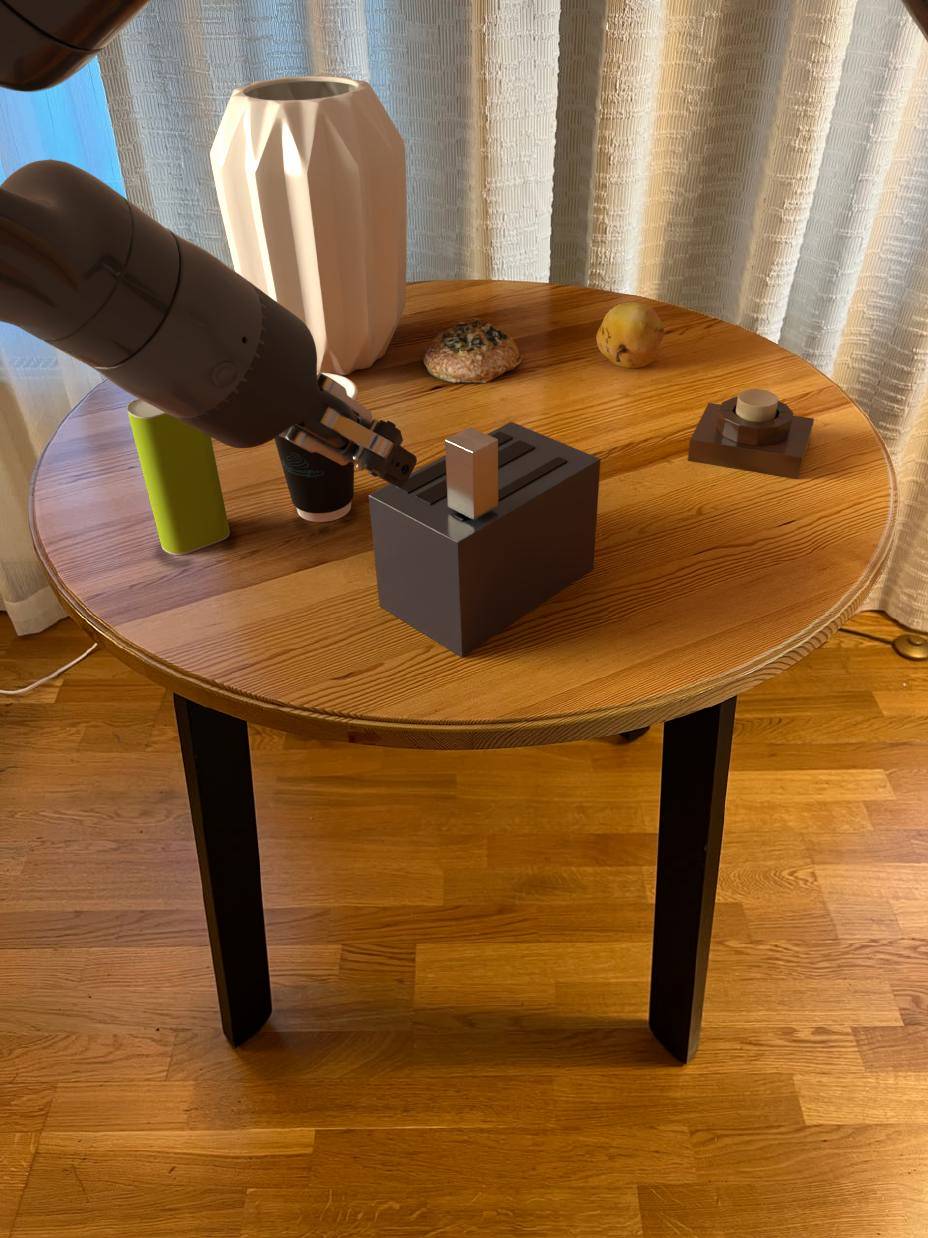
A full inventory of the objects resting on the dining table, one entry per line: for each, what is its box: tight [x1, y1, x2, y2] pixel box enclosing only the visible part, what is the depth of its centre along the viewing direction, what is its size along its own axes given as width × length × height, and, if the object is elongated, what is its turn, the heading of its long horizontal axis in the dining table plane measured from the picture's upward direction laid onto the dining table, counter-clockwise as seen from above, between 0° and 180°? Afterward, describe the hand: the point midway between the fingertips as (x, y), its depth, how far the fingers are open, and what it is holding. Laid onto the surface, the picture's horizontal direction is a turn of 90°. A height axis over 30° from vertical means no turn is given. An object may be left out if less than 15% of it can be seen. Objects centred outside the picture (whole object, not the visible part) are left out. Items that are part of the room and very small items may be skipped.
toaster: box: [368, 421, 601, 659], centre depth 77 cm, size 15×9×10 cm, turn 135°
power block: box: [687, 396, 815, 480], centre depth 95 cm, size 10×8×4 cm
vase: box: [209, 74, 408, 376], centre depth 107 cm, size 20×20×28 cm
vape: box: [126, 398, 231, 556], centre depth 81 cm, size 4×6×20 cm, turn 126°
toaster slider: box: [444, 426, 498, 520], centre depth 69 cm, size 2×3×5 cm
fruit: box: [595, 301, 665, 369], centre depth 110 cm, size 7×7×10 cm
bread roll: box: [422, 318, 523, 384], centre depth 112 cm, size 11×11×5 cm
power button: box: [735, 388, 779, 422], centre depth 93 cm, size 4×4×2 cm
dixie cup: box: [273, 373, 359, 523], centre depth 87 cm, size 8×8×11 cm
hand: (402, 469), depth 63 cm, fingers closed
